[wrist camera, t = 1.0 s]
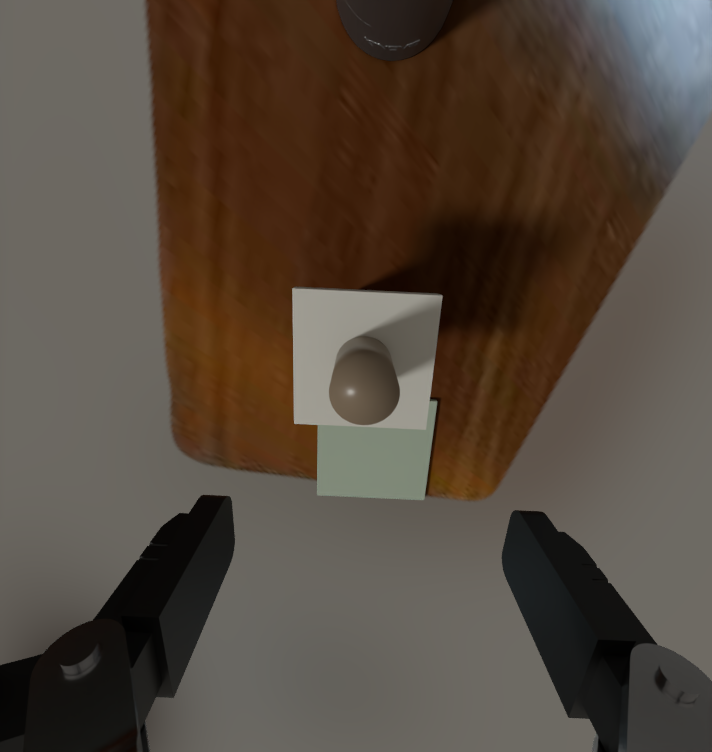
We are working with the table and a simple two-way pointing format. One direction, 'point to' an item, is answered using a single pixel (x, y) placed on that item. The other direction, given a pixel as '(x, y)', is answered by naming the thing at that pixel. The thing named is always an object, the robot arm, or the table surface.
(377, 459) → the mat
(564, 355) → the table surface
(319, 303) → the lid
